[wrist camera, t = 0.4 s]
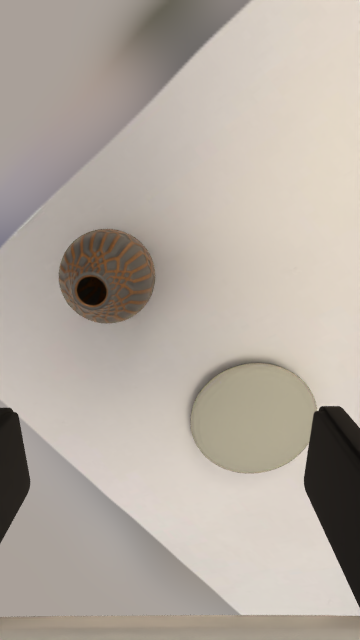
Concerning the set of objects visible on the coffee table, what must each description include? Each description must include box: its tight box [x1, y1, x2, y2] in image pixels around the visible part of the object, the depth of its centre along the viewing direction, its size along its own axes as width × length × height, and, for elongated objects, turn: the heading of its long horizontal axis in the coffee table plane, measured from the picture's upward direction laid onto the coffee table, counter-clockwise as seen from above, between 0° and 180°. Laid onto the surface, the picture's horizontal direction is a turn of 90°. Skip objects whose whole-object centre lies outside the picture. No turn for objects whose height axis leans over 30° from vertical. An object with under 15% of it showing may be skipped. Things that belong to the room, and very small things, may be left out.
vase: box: [59, 229, 155, 323], centre depth 23 cm, size 7×7×9 cm
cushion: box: [190, 363, 317, 473], centre depth 31 cm, size 12×12×3 cm
